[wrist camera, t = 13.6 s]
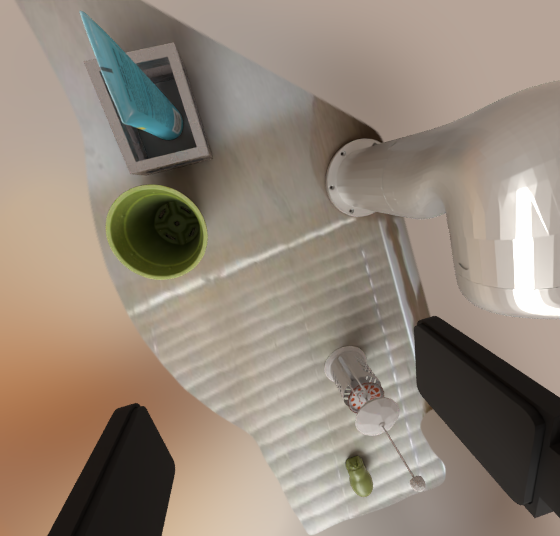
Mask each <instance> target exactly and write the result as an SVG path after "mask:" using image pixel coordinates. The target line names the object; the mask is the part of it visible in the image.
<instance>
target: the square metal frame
mask: <svg viewBox="0 0 560 536" xmlns="http://www.w3.org/2000/svg"><path fill="white" fill-rule="evenodd" d="M126 54H127V55H128V56H129V57H130V58H131V59H132V61H133V62H134V63H135V64H136V65H137V66H138V67H139V68H140V69H141V70H142V71H143V72H144V73H145V75H146V76H147V77H148V78H149V79H150V80H151V81H152V82H153V83H157V82H162V81H166V80H171V79H175V81H176V84H177V87H178V90H179V93H180V96H181V99H182V103H183V106H184V109H185V112H186V115H187V118H188V121H189V124H190V127H191V130H192V134H193V137H194V140H195V143H196V146H197V147H195V148H191V149H187V150H183V151H179V152H175V153H171V154H167V155H163V156H159V157H155V158H150V159H148V156H147V153H146V151H145V148H144V146H143V143H142V140H141V138H140V135H139V133H138V130H137V128H136V127H133V126H131V125H126V124H124V123H122V121H121V118H120V115H119V112H118V110H117V107H116V105H115V103H114V101H113V99H112V97H111V94H110V92H109V90H108V87H107V85H106V83H105V80H104V77H103V75H102V72H101V70H100V67H99V64H98V62H97V59H93V60H88V61H84V64H85V66H86V68H87V71H88V73H89V76H90V78H91V80H92V83H93V85H94V88H95V90H96V92H97V95H98V97H99V100H100V102H101V105H102V107H103V109H104V112H105V114H106V117H107V119H108V121H109V124H110V126H111V129H112V131H113V133H114V136H115V138H116V141H117V143H118V145H119V148H120V150H121V153H122V155H123V157H124V160H125V162H126V165H127V167H128V169H129V172H130V174H135V175H146V176H147V175H151V174H155V173H159V172H163V171H167V170H171V169H175V168H179V167H183V166H187V165H191V164H195V163H199V162H203V161H207V160H211V159H213V158H212V155H211V151H210V148H209V145H208V142H207V138H206V135H205V132H204V129H203V125H202V122H201V119H200V116H199V112H198V109H197V106H196V103H195V99H194V96H193V93H192V89H191V86H190V83H189V80H188V76H187V73H186V70H185V67H184V64H183V62H182V60H181V57H180V55H179V53H178V50H177V48H176V46H175V43H174V42H173V43H168V44H163V45H159V46H154V47H149V48H144V49H140V50H135V51H130V52H126Z"/></svg>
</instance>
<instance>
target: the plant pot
mask: <svg viewBox="0 0 560 536" xmlns="http://www.w3.org/2000/svg"><path fill="white" fill-rule="evenodd" d="M167 204H168V206H169V209H168V206H167ZM181 207H183V208H185V209H187V210H188V211H189V213H188V212H186V211H185V210H183V209H181ZM163 210H165V214H164V215H163V217H162V219H161V218H160V217H159V216H160V214H161V212H162V211H163ZM176 221H178V222H179V225H178V226H176V225H175V222H176ZM193 228H195V232H194V234H193V235H192V236H190V235H189V234H190V233H191V231H192V230H193ZM160 230H161V231H160ZM166 234H168V235H170V236H172V237H174V238H175V239H174V240H172V239H170V238H168V237H166ZM106 236H107V240H108V243H109V245H110V248H111V249H112V251H113V253H114V255H115V256H116V257H117V259H118V260H119V261H120V262H121V263H122V264H123V265H124V266H126V267H127V268H128V269H130V270H131V271H133V272H134V273H136V274H138V275H141V276H143V277H146V278H150V279H156V280H167V279H173V278H177V277H180V276H182V275H184V274H186V273H188V272H189V271H191V270H192V269H193V268H195V267H196V266H197V264H198V263H199V262H200V261H201V259H202V257H203V255H204V253H205V250H206V247H207V240H208V234H207V227H206V224H205V220H204V218H203V216H202V214H201V212H200V211H199V209H198V208H197V206H196V205H195V204H194V203H193V202H192V201H191V200H190V199H189V198H188V197H186V196H185V195H184V194H182V193H180V192H179V191H177V190H174V189H172V188H169V187H166V186H162V185H153V184H151V185H141V186H137V187H134V188H132V189H129V190H128V191H126V192H124V193H123V194H122V195H120V196H119V197H118V198H117V199H116V200H115V201H114V203H113V204H112V206H111V208H110V209H109V212H108V215H107V219H106Z"/></svg>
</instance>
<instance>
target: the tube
mask: <svg viewBox="0 0 560 536" xmlns="http://www.w3.org/2000/svg"><path fill="white" fill-rule="evenodd" d="M79 12H80V15H81V18H82V21H83V24H84V27H85V30H86V32H87V35H88V38H89V41H90V43H91V46H92V49H93V51H94V54H95V56H96V59H97V62H98V64H99V67H100V70H101V72H102V75H103V77H104V80H105V83H106V85H107V87H108V90H109V92H110V94H111V97H112V99H113V101H114V103H115V105H116V107H117V110H118V112H119V115H120V118H121V121H122V123H124V124H126V125H131V126H133V127H136V128H139V129H141V130H144V131H146V132H149V133H151V134H153V135H155V136H157V137H159V138H161V139H164V140H173V139H176V138H177V137H178V136H179V135H180V134H181V132H182V130H183V119H182V116H181V114H180V112H179V111H178V110H177V108H176V107H175V106H174V105H173V104H172V103H171V102H170V101H169V100H168V99H167V97H166V96H165V95H164V94H163V93H162V92H161V91H160V90H159V89H158V88H157V86H156V85H155V84H154V83H153V82H152V81H151V80H150V79H149V78H148V77H147V76H146V75H145V73H144V72H143V71H142V70H141V69H140V68H139V67H138V66H137V65H136V64H135V63H134V62H133V61H132V59H131V58H130V57H129V56H128V55H127V54H126V53H125V52H124V51H123V50H122V49H121V48H120V47H119V46H118V45H117V44H116V43H115V42H114V41H113V40H112V39H111V38H110V37H109V36H108V35H107V33H106V32H105V31H104V30H103V29H102V28H101V27H100V26H98V25H97V24H96V23H95V22H94V21H93V20H92V19H91V18H90V17H89V16H88V15H87V14H86V13H84V12H83V11H79Z"/></svg>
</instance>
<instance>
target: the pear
mask: <svg viewBox="0 0 560 536" xmlns="http://www.w3.org/2000/svg"><path fill="white" fill-rule="evenodd" d="M346 468H347V470H348V473H349V476H350V484H351V487H352V489H353V490H354V491H355V493H356V494H357V495H359V496H361V497H366V496H368V495H370V494H371V492H372V489H373V482H372V478H371V475H370V474H369V472H368V471H367V470H366V468H365V466H364V464H363V461H362V459H361V458H360V457H359V456H355V457H352V458H349V459H347V461H346Z"/></svg>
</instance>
